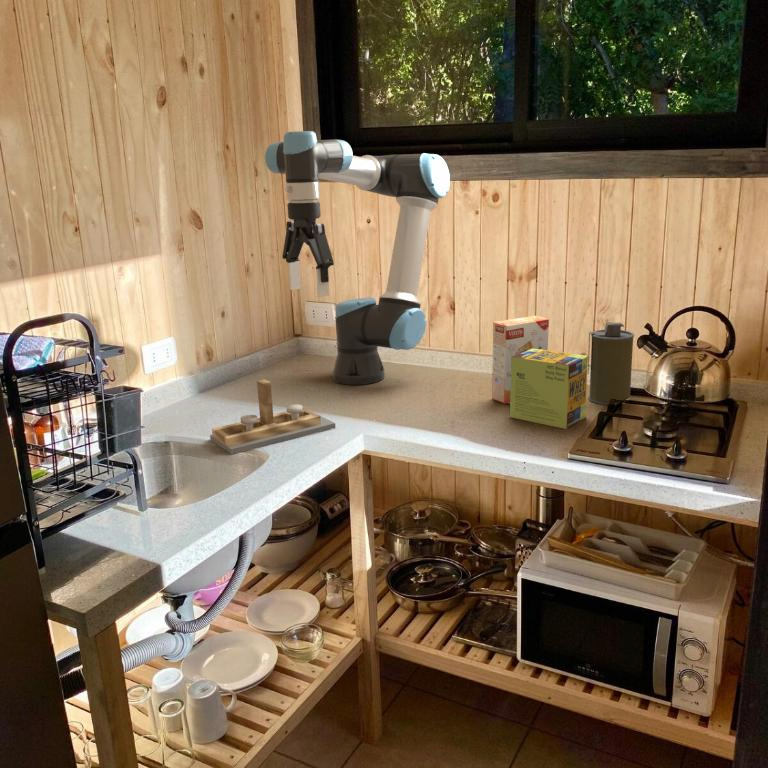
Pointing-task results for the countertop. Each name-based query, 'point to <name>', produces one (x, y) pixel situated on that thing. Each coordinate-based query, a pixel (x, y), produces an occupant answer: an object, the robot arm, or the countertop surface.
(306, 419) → the ball track frame
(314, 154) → the robot arm
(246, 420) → the board
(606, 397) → the canister
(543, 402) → the protein box
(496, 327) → the cracker box
